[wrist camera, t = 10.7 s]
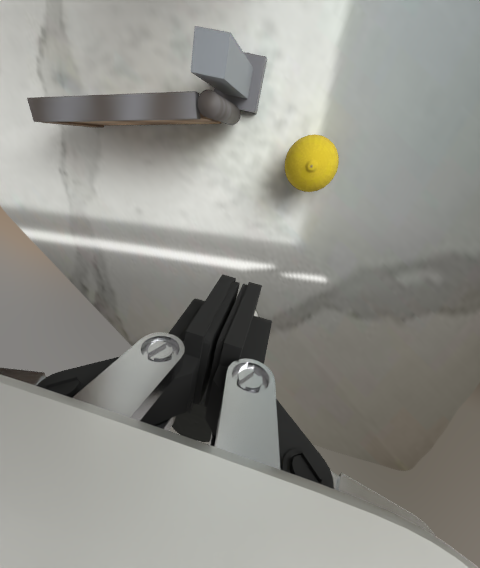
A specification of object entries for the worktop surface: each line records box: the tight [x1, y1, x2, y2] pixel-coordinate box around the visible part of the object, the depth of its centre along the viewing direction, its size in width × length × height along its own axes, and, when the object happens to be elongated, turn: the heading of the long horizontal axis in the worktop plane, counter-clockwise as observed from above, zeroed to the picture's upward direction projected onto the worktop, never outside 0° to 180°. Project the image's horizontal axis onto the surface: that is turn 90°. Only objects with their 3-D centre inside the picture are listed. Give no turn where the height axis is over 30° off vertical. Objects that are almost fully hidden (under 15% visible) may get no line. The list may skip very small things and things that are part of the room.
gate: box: [27, 90, 240, 127], centre depth 29 cm, size 20×2×9 cm, turn 90°
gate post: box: [191, 26, 267, 114], centre depth 26 cm, size 5×5×11 cm
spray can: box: [172, 310, 258, 442], centre depth 36 cm, size 7×7×20 cm
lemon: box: [285, 135, 338, 192], centre depth 29 cm, size 6×6×8 cm
